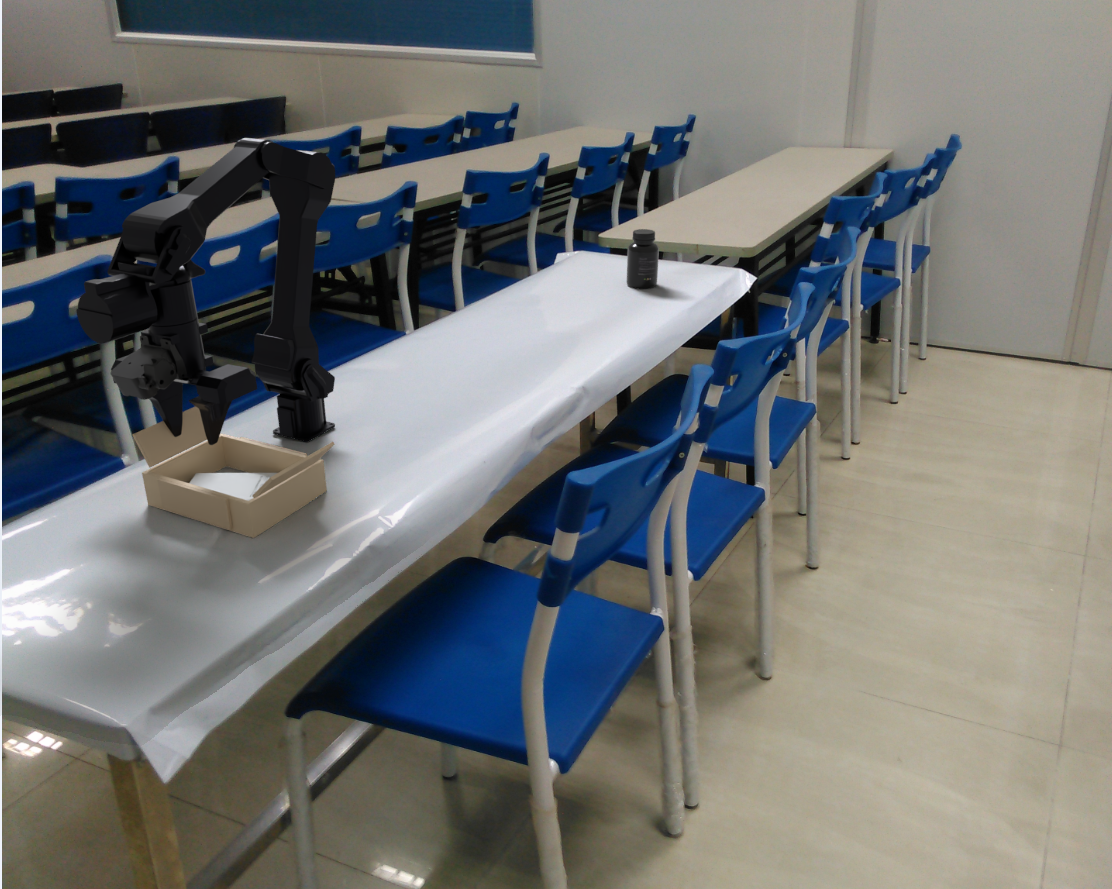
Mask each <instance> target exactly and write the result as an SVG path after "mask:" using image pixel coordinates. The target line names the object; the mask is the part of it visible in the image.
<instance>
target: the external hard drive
mask: <svg viewBox="0 0 1112 889" xmlns="http://www.w3.org/2000/svg"><path fill="white" fill-rule="evenodd" d="M275 474H277V473H248V472H215V473H196V474H195V475H194V477H193V478H192V480H191V481H190V484H193V485H196V486H200V487H203V488H207V489H210V490H213V491H217V492H220V493H224V494H227V495H231V496H234V497H237V498H241V499H244V500H248V501H249V500H251V499H252V498H253V495H254V494H255V492H256V491H257V490H258V489H259V488H260V487H261V486H262V485H263V484H264V483H265V482H266V481H267V480H268V479H269V478H270V477H272V476H274V475H275Z"/></svg>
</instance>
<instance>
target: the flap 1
mask: <svg viewBox="0 0 1112 889" xmlns="http://www.w3.org/2000/svg"><path fill="white" fill-rule="evenodd" d="M131 436H132V437H133V439H134V441H135V443H136V445H137V447H138V449H139V451H140V452H141V454H142V456H143V458H144V460H145V462H146V464H147V466H148V468H149V469H150V468H152V467H154V466H156V465H158V464H160V463H162V462H164V461H166V460H169V459H171V458H173V457H175V456H177V455H179V454H181V453H183V452H185V451H187V450H189V449H191V448H193V447H195V446H197V445H199V444H201V443H203V442H205V441H207V438H206V435H205V431H204V427H203V422H202V418H201V414H200V410H199V408H197V407H196V406H193V407H190V408H189V409H186V410H184V411H183V421H182V433H181V435H180V436H177V437H174V435H173V434H172V433H171V431H170V430H169V428H168V427H167V426H166V424H165V423H164V421H163V420H162V421H160V422H157V423H156V424H153V425H151V426H149V427H146V428H144V429H142V430H139V431H138V432H135V433H132V435H131Z"/></svg>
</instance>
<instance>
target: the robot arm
mask: <svg viewBox="0 0 1112 889" xmlns="http://www.w3.org/2000/svg"><path fill="white" fill-rule="evenodd" d="M335 168H336V167H335V165H334V164H333V163H332V161H331V159H330V157H328V156H327V154H326V153H323V152H322V151H313V150H312V151H310V150H300V149H299V150H298V149H293V148H290V147H286V146H283V145H282V144H279V143H275V142H274V141H272V140H270V139H263V138H251V137H244V138H241V139H239V140H237V141H236V143H235V144H234V145H233V147H232V149H231V150H229V151H228V152H227V153H225V155H224V156H221V158H220V159H219V160H217V161H216V162H215V163H213V164H212V165H211V166H210V167H209V168H207V169H206V170H205V171H204V172H203V173H201V174H200V175H199V176H198V177H196V178H195V179H194V180H193V181H192V182H190V183H189V184H188V185H186V187H184V188H183V189H182V190H181V191H180V192H178V193H176V194H174V195H173V196H171V197H168V198H164V199H160V200H158V201H153V202H151V203H149V204H147V205H145V206H143V207H140V208H139V209H137V210H135V211H133V212H131V213H130V214H129V215H128V216H127V217H126V218H125V219H124V220H123V222H122V224H121V228H122V233H121V234H120V238H119V241H118V243H117V246H116V248H115V250H114V253H113V256H112V258H111V261H110V264H109V266H108V269H107V271H106V272H107V275H108V277H104V278H100V279H97V278H95V279H90V280H87V281H84V283H83V286H84V291H85V293H82V294H81V295H80V297H79V298H78V302H77V308H76V311H75V312H76V317H77V319H78V323H79V324H80V326H81V328H82V330H83V331H84V333H85V335H87V337H88V338H89V339H91V341H93V342H96V343H97V344H107V343H109V342H113V341H116V340H119V339H122V338H125V337H128V336H130V335H134V334H137V333H140V336H139V342H140V348H138V349H137V350H136V351H133V352H132V353H130V354H128V355H126V356H122V357H119V358H117V359H115V360H114V362H113V364H112V367H111V368H110V376H111V377H112V381H113V384H116V385H117V388H118V389H119V390H120V392H121V394H122V395H123V396H125V397H135V398H138V399H139V400H150V402H151V404H152V405H153V406H154V408H155V409H156V411H157V412H158V414H159V416H160V418H161V420H162V421H164V423H165V424H166V426H167V427H168V428H169V430H170V431H171V433H172V434H173V435H174V437H177V436H180V435H181V433H182V421H183V412H184V411H183V409H184V408H183V406H184V405H183V402H184V401H183V399H184V398H183V395H184V394H183V392H184V391H183V388H184V387H183V385H184V384H186V385H187V384H188V385H192V386H195V387H196V392H197V394H198V396H196V397H194V398H191V399H188V402H189V403H190V404H192V405H193V407H195V406H196V407H197V408H199V410H200V414H201V418H202V422H203V427H204V431H205V435H206V438H207V440H208V443H209V445H214V444H216V443H217V442H218V439H219V436H220V434H221V432H222V430H223V427H224V424H225V420H226V417H227V414H228V412H229V409H230V407H231V404H232V402H233V401H235V400H237V399H240V398H242V397H243V396H246V395H248V394H250V393H251V392H254V391H256V390H258V385H257V378H256V376H258V378H259V379H260V381H261V382H262V384H263V386H264V388H265V390H266V392H273V393H277V394H278V395H276V399H277V400H276V401H277V402H276V403H277V407H276V413H277V421H278V427H277V428H274V429H273V430H272V434H273V435H277V436H280V437H284V438H288V439H292V440H296V441H299V442H303V443H308V441H309V442H310V440H311V439H312V440H314V439H316V438H318V437H319V435H320V436H321V435H323V434H325V433H326V431H327V430H329V429H330V430H332V429H334V428H335V427H336V424H335V422H331V421H327V414H326V408H325V406H326V405H325V399H326V398H328V397H329V394H330V393H332V392H334V388H335V381H336V380H335V379H336V377H335V376H334V374H332V373H331V372H330V371H328V370H327V369H326V368H324V367H323V366H322V365H321V364H320V360H319V357H320V356H319V346H318V343H317V341H316V339H315V338H316V337H314V335H313V332H312V329H311V327H310V317H311V316H310V315H311V306H312V305H311V304H312V291H313V282H314V279H313V278H314V269H315V259H316V258H315V255H316V245H317V233H318V232H317V230H318V223H319V220H320V218H322V215H323V214H324V212H325V211H326V209H327V208H328V207H329V205H330V203H331V202H332V196H333V192H334V191H333V190H334V186H335V183H336V169H335ZM262 179H264V180H266V181H267V180H268V181H269V182H268V183H269V195H270V197H271V199H272V202H273V204H274V207H275V208H276V211H277V213H278V216H279V222H278V237H277V248H276V251H277V252H276V262H275V274H274V288H273V300H272V315H271V322H270V324H269V325H268V326H267V328H266V330H264V332H263V334H261V333H256V334H255V336H254V337H253V346H254V347H253V348H254V350H253V356H252V359H251V363H253V364H254V371H253V370H252V369H251V368H249V367H246V366H239V365H233V364H228V363H227V364H225V365H222V366H220V367H217V368H215V369H213V370H210V371H208V370H207V369H206V368H207V367H209V366H212V365H214V364H215V363H214V358H213V356H212V355H207V354H205V351H204V344H203V339H202V338H203V337H202V335H203V334H206V333H208V332H209V329H208V324H207V323H204V322H199V316H198V310H197V306H196V300H195V295H194V288H193V282H192V279H195V278H197V277H200V276H204V275H205V274H206V270H205V269H204V268H203V267H202V266H200V265H198V264H196V263H195V262H194V261H193V260H192V258H193V257H194V256H195V254H196V253H197V252H198V250H199V249H200V248H201V247H202V245H203V244H204V243H205V240H206V236H207V231H208V228H209V227H210V226H211V224H212V223H213V222H214V221H215V220H216V219H218V217H220V216H221V215H222V214H223V213H224V212H225V211H227V210H228V209H229V208H231V206H232V205H233V204H235V203H236V202H237V201H238V200H239V199H240V198H241V197H243V196H244V195H245V194H246V193H247V192H249V190H251V189H252V188H253V187H254V186H255V185H256V184H258V183H259V182H260V181H261V180H262ZM136 261H140V262H146V263H147V262H148V263H151V264H156V265H148V264H143V263H137V262H136ZM333 427H334V428H333ZM331 428H332V429H331ZM330 430H329V431H330ZM324 432H325V433H324ZM327 432H328V431H327ZM317 436H318V437H317ZM315 437H316V438H315ZM313 438H314V439H313ZM207 440H206V441H207ZM312 440H311V441H312Z"/></svg>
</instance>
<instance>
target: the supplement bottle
mask: <svg viewBox="0 0 1112 889" xmlns="http://www.w3.org/2000/svg"><path fill="white" fill-rule="evenodd" d="M632 241H633V242H631V243H630V244H629V245H628V247H627V260H626V285H627V286H628V287H629V288H632V287H633V289H637V288H639V290H644V289H645V290H646V289H652V288H655V287H656V286H657V285H658V277H659V276H658V272H659V255H660V253H659V252H660V247H659V246H658V244H657V243H655V241H656V232H655V230H653V229H647V228H645V229H644V228H642V229H641V228H639V229H634V230H633V231H632Z"/></svg>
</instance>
